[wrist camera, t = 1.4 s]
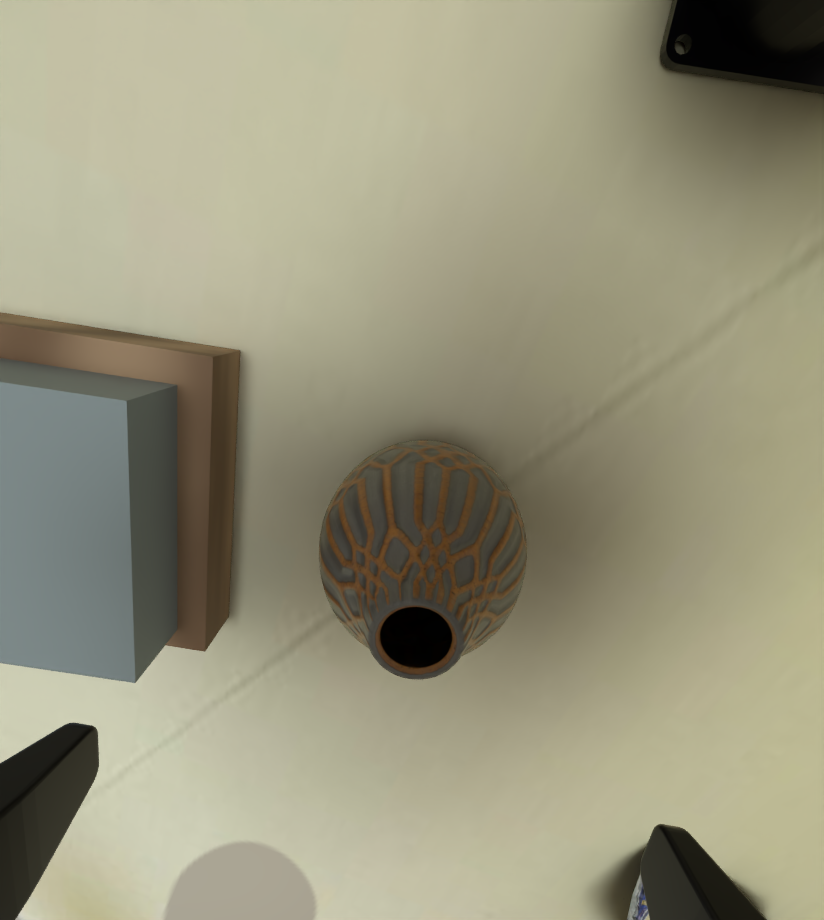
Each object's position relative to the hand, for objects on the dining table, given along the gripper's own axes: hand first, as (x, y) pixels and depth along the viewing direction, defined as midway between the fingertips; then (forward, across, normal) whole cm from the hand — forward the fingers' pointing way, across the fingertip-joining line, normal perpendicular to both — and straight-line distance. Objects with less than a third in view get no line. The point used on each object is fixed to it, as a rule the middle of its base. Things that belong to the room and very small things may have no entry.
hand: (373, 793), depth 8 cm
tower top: (+11, +14, +2) cm, 17 cm away
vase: (+13, -1, 0) cm, 13 cm away
